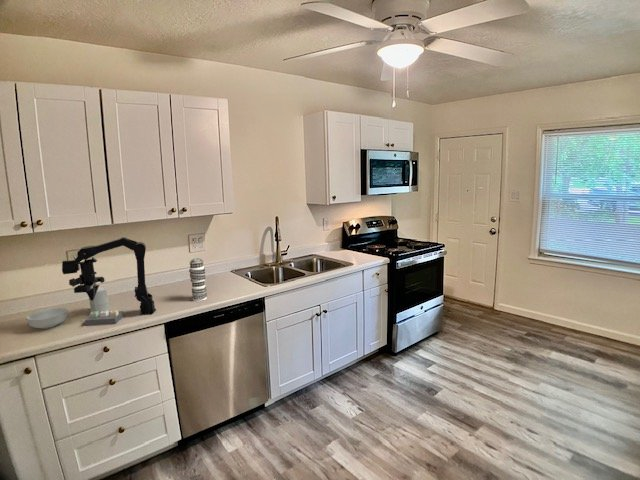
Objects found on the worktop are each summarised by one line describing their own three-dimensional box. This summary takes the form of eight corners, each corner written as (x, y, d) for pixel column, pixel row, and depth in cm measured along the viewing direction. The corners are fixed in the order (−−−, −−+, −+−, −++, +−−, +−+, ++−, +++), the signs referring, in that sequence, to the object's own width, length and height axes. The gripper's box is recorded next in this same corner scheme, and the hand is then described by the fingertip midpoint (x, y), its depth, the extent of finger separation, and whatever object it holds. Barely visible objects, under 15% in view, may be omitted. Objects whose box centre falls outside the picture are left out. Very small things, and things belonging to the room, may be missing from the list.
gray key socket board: (124, 316, 195) (123, 311, 195) (115, 323, 186) (115, 318, 185) (95, 318, 194) (94, 312, 193) (85, 325, 184) (84, 320, 184)
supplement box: (104, 307, 209) (101, 287, 207) (110, 310, 205) (106, 289, 202) (90, 311, 204) (87, 290, 201) (95, 314, 199) (92, 293, 197)
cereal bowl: (27, 336, 174) (25, 322, 173) (29, 325, 188) (27, 312, 186) (69, 326, 184) (67, 313, 183) (69, 316, 197) (66, 304, 196)
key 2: (118, 314, 191) (118, 309, 191) (116, 316, 188) (115, 311, 188) (113, 315, 191) (112, 310, 191) (110, 317, 188) (109, 312, 188)
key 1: (99, 316, 191) (98, 311, 190) (96, 318, 188) (95, 313, 187) (93, 316, 190) (92, 311, 190) (90, 318, 187) (89, 313, 187)
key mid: (109, 315, 191) (108, 310, 190) (106, 317, 188) (105, 312, 188) (103, 315, 191) (102, 310, 190) (100, 317, 188) (99, 312, 187)
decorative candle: (189, 301, 215) (185, 261, 210) (194, 296, 224) (190, 257, 219) (205, 301, 215) (201, 260, 211) (209, 295, 224) (205, 257, 220)
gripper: (81, 267, 193) (85, 295, 196) (60, 277, 174) (65, 307, 177) (103, 266, 194) (107, 293, 197) (84, 276, 175) (89, 306, 178)
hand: (92, 300), depth 187 cm, fingers closed
